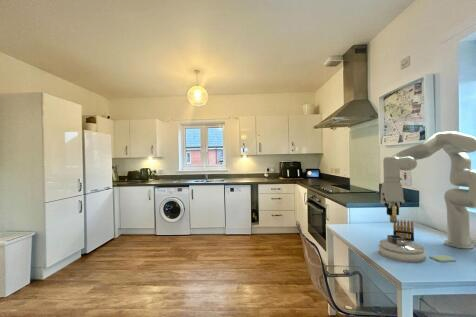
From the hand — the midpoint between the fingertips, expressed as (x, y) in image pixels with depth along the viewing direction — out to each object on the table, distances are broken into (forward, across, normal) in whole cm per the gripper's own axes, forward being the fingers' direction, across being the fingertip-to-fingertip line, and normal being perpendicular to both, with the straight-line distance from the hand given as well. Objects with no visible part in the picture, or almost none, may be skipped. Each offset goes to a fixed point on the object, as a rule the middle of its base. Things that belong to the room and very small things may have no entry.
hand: (392, 214), depth 138 cm
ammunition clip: (+20, -20, -18) cm, 33 cm away
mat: (+19, -14, +14) cm, 28 cm away
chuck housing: (+19, 0, +6) cm, 20 cm away
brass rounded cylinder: (+4, 0, 0) cm, 4 cm away
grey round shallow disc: (+16, 0, +6) cm, 17 cm away
